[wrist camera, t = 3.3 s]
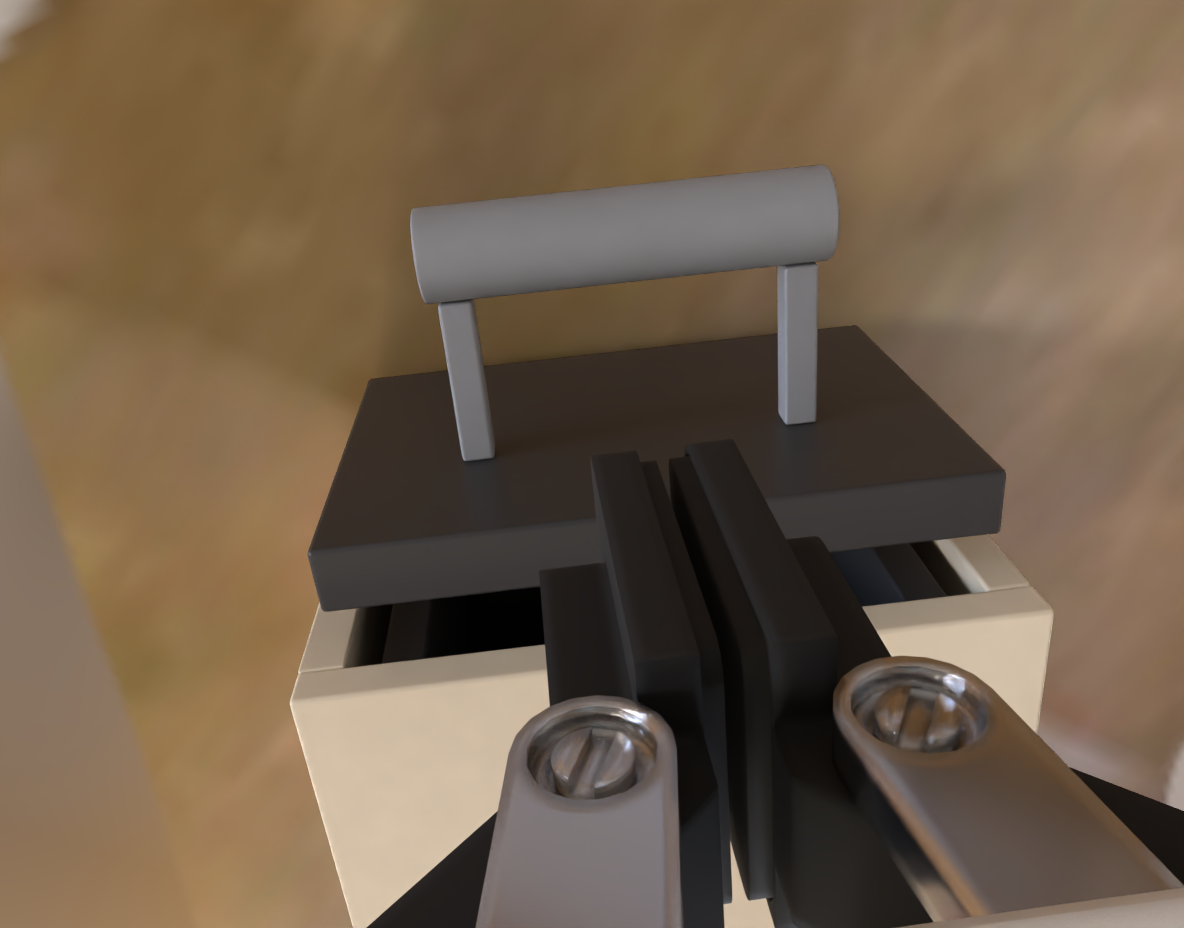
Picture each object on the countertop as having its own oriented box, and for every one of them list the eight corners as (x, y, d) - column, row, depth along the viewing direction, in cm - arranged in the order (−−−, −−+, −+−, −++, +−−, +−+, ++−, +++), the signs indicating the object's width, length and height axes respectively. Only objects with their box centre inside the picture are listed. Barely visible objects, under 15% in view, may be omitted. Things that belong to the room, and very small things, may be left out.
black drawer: (326, 173, 21) (232, 269, 14) (863, 116, 21) (1040, 182, 14) (456, 812, 29) (439, 1079, 22) (844, 764, 29) (950, 1012, 22)
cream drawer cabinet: (365, 450, 25) (287, 702, 16) (867, 393, 25) (1057, 610, 16) (454, 871, 31) (433, 1213, 22) (852, 821, 31) (982, 1139, 23)
